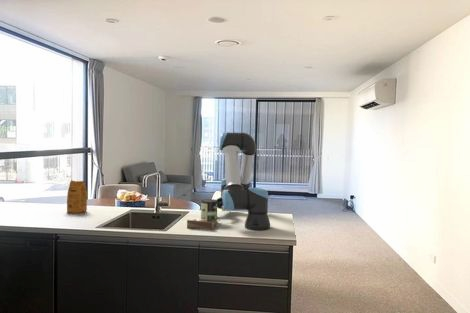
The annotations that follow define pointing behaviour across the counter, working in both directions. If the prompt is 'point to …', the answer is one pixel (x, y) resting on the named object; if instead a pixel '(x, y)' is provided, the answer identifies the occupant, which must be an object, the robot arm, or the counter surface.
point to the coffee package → (77, 197)
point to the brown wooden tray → (201, 225)
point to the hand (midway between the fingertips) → (212, 207)
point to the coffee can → (209, 210)
